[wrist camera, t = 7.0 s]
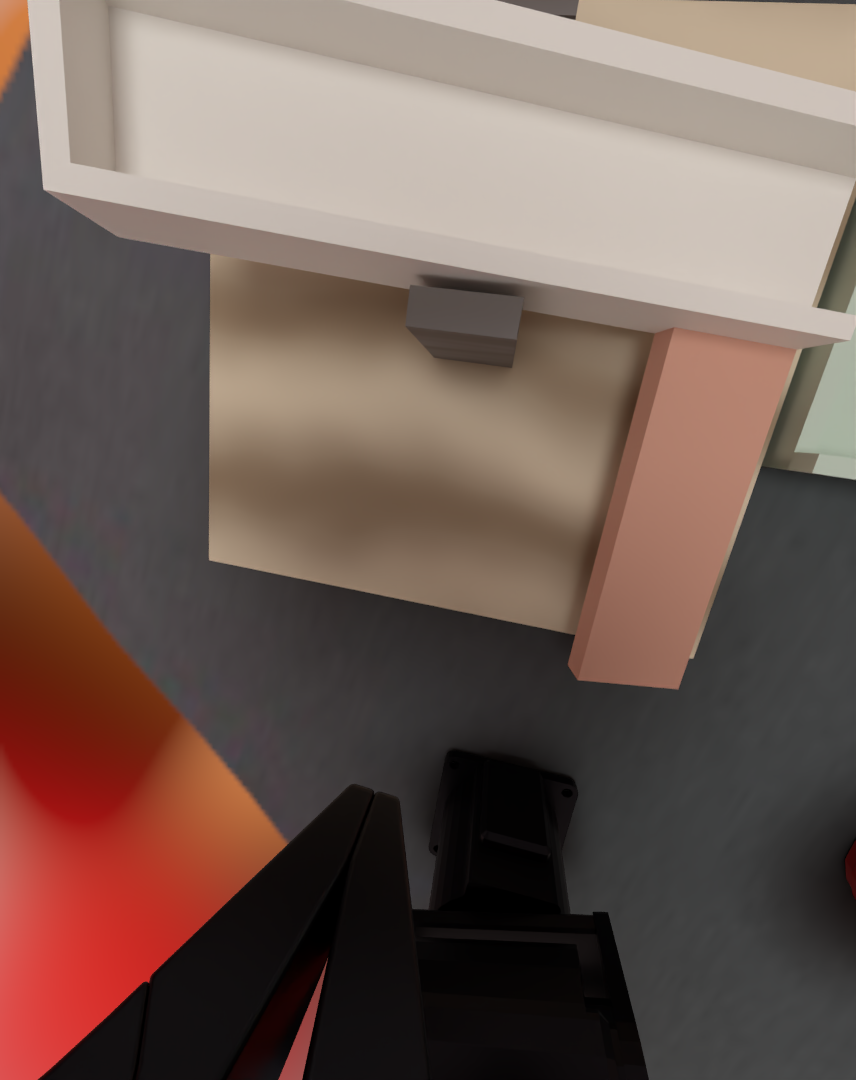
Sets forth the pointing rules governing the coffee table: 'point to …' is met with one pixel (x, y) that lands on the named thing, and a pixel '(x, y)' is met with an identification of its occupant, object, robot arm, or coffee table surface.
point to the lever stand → (455, 394)
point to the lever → (493, 215)
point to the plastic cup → (851, 868)
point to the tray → (823, 387)
